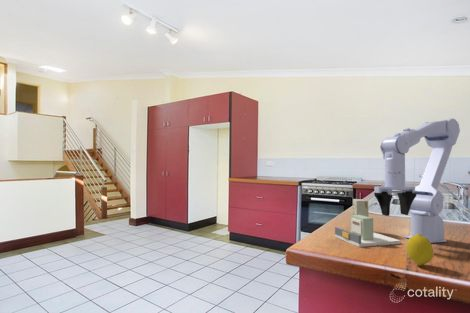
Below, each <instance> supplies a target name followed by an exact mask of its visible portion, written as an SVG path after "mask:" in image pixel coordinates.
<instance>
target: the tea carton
mask: <svg viewBox="0 0 470 313" xmlns="http://www.w3.org/2000/svg"><path fill="white" fill-rule="evenodd" d="M350 232H352V233H355V234H358V235H360V236H361V240H373V232H374V218H373V217H369V216H368V217H366V216H362V215H353V214H352V215H350Z"/></svg>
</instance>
